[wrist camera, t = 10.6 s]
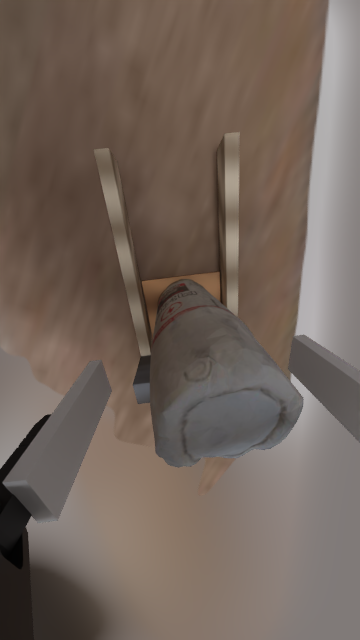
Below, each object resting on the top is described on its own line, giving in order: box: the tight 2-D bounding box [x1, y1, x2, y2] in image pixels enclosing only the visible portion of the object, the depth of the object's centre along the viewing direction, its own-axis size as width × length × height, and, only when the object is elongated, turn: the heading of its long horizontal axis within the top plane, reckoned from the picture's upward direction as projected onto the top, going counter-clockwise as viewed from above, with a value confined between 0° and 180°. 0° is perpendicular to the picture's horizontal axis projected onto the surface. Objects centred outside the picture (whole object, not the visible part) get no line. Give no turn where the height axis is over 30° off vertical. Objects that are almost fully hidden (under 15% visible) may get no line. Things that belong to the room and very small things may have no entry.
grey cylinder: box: [150, 279, 303, 467], centre depth 17 cm, size 8×8×20 cm
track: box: [94, 132, 239, 404], centre depth 21 cm, size 27×14×9 cm, turn 6°
